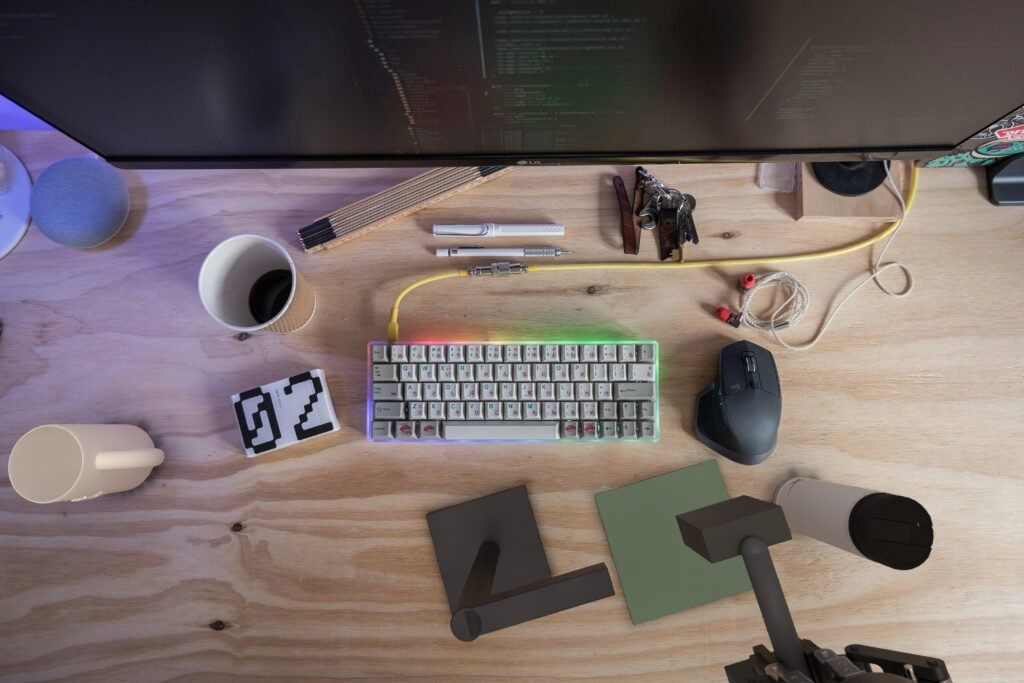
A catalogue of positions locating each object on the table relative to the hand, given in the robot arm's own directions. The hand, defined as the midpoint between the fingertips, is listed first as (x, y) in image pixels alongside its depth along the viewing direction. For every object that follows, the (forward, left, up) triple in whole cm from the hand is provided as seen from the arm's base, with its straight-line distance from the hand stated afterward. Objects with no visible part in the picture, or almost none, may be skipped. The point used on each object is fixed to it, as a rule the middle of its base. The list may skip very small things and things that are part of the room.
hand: (777, 654), depth 43 cm
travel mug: (+3, -15, -27) cm, 31 cm away
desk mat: (+3, 0, -27) cm, 27 cm away
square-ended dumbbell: (+3, 0, -5) cm, 6 cm away
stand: (+8, +18, -27) cm, 33 cm away
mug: (+30, +59, -27) cm, 71 cm away
